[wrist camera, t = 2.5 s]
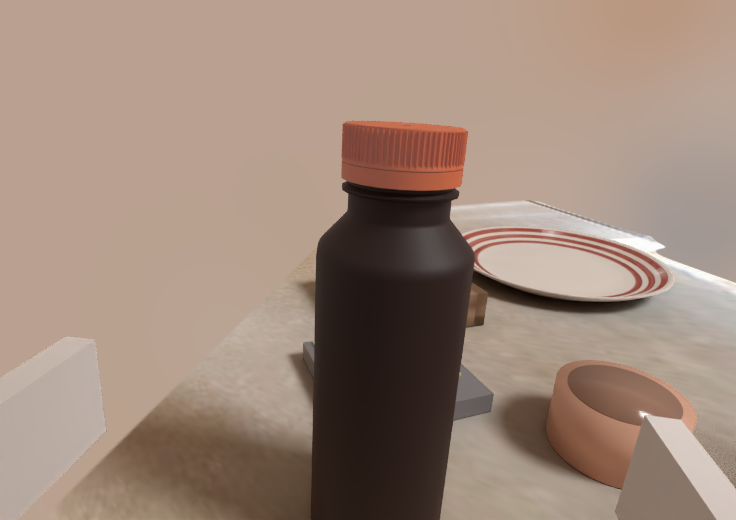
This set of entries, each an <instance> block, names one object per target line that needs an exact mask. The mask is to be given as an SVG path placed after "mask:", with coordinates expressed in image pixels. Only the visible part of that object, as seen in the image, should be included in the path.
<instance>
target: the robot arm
mask: <svg viewBox="0 0 736 520" xmlns="http://www.w3.org/2000/svg"><path fill="white" fill-rule="evenodd" d="M105 432H106V425H105V416H104V408H103V401H102V393H101V385H100V377H99V369H98V361H97V353H96V345H95V340H91V339H83V338H76V337H69V336H66V337H65V338H63V339H61V340H60V341H58V342H56V343H55V344H53V345H52V346H50V347H48V348H47V349H45V350H44V351H42V352H40V353H39V354H37V355H36V356H34V357H32V358H31V359H29V360H28V361H26V362H24V363H23V364H21V365H19V366H18V367H16V368H15V369H13V370H11V371H10V372H8V373H7V374H5V375H3V376H2V377H1V378H0V520H17V519H18V518H19V517H20V516H21V515H22V514H23V513H24V512H25V511H26V510H27V509H28V508H29V507H30V506H31V505H32V504H33V503H34V502H35V501H36V500H37V499H39V498H40V497H41V495H42V494H44V493H45V492H46V490H48V489H49V488H50V487H51V486H52V485H53V484H54V483H55V482H56V481H57V480H58V479H59V478H60V477H61V476H62V475H63V474H64V473H65V472H66V471H67V470H68V469H69V468H70V467H71V466H72V465H73V464H74V463H75V462H76V461H77V460H78V459H79V458H80V457H81V456H82V455H83V454H84V453H85V452H86V451H87V450H88V449H89V448H90V447H91V446H92V445H93V444H94V443H95V442H96V441H97V440H98V439H99V438H100V437H101V436H102V435H103V434H104V433H105ZM615 512H616V514H617V517H618V519H619V520H736V488H735V487H734V486H733V485H732V483H731V482H730V481H729V479H728V478H727V477H726V476H725V474H724V473H723V472H722V471H721V469H720V468H719V467H718V466H717V464H716V463H715V462H714V461H713V459H712V458H711V457H710V455H709V454H708V453H707V452H706V450H705V449H704V448H703V447H702V445H701V444H700V443H699V442H698V440H697V439H696V438H695V437H694V435H693V434H692V433H691V432H690V430H689V429H688V428H687V426H686V425H685V424H684V423H683V421H682V420H679V419H672V418H664V417H657V416H650V415H644V419H643V422H642V425H641V428H640V432H639V435H638V438H637V442H636V445H635V448H634V451H633V455H632V458H631V461H630V464H629V468H628V471H627V474H626V478H625V481H624V484H623V487H622V491H621V494H620V497H619V501H618V504H617V507H616V510H615Z"/></svg>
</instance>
